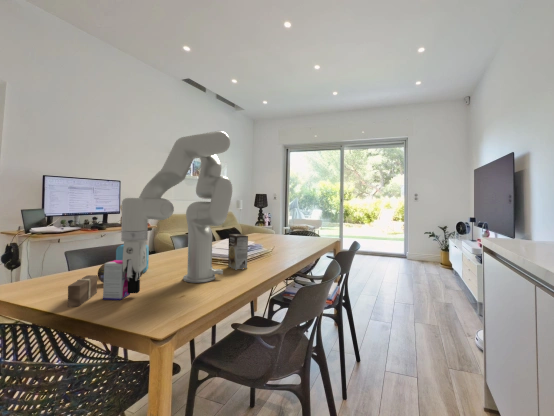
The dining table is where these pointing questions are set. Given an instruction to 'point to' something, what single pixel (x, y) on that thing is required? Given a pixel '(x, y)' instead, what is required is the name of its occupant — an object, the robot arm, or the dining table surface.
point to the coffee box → (238, 251)
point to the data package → (120, 255)
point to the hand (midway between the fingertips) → (133, 292)
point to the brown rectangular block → (82, 290)
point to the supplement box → (115, 281)
